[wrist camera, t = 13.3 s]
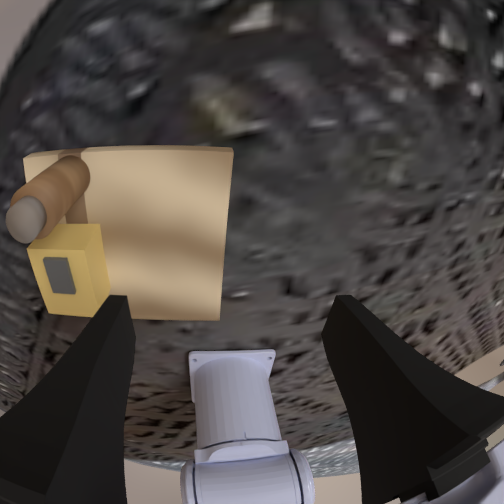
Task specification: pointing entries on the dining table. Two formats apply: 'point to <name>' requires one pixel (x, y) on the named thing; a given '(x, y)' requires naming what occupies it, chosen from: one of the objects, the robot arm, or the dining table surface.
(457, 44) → the dining table surface
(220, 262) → the plywood panel
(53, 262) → the stud finder
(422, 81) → the dining table surface
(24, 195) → the brown gray-topped cylinder
